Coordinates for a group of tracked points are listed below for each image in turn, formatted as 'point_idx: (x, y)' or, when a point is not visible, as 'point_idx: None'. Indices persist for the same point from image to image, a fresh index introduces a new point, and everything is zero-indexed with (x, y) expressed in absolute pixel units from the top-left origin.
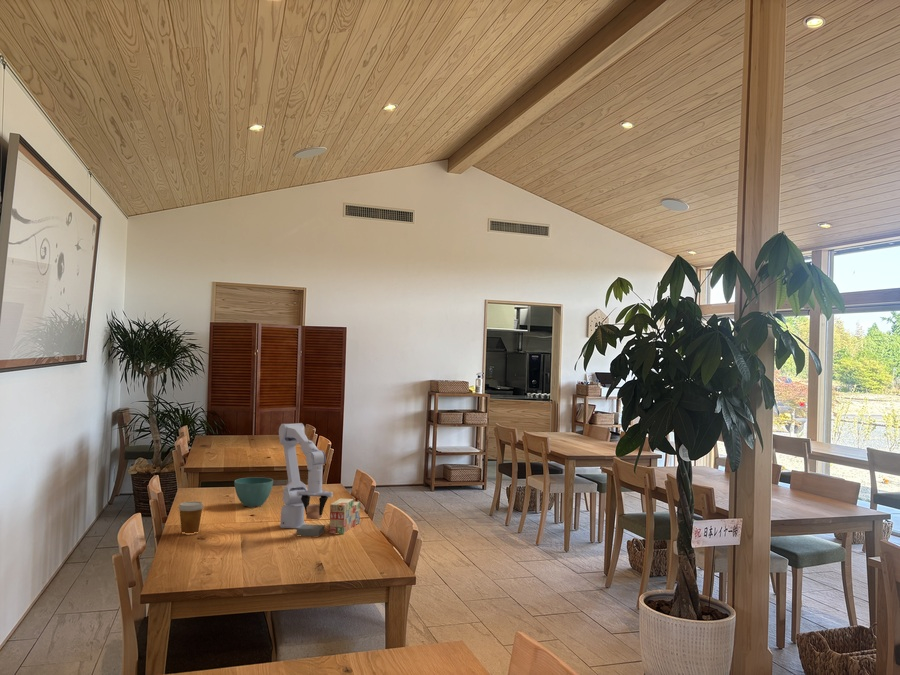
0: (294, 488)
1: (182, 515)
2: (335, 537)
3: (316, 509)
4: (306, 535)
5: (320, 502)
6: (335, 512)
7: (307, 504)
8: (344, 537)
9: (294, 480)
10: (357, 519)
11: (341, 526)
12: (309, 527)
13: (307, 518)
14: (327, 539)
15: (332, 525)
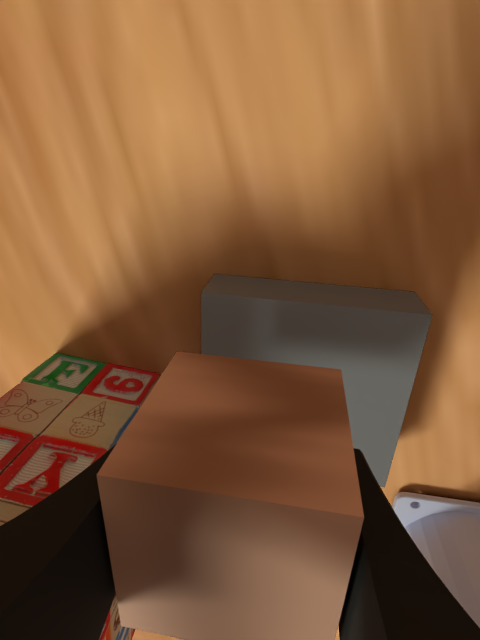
0: None
1: None
2: (75, 264)
3: (159, 444)
4: (321, 285)
5: (9, 575)
6: (3, 493)
7: (362, 610)
8: (12, 268)
9: None
10: None
11: (34, 387)
12: None
13: (324, 370)
14: (113, 192)
15: (110, 406)
